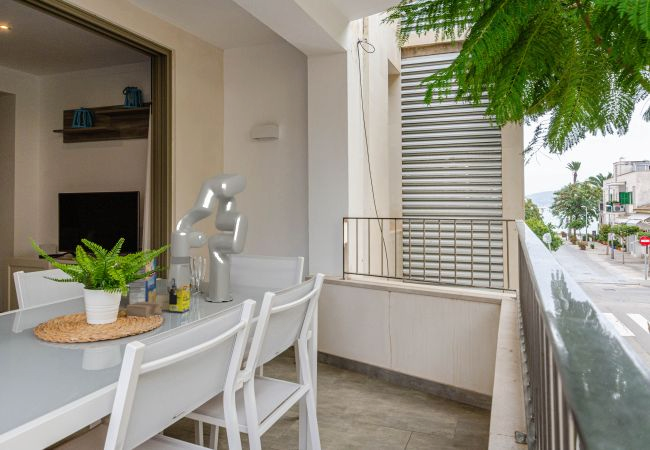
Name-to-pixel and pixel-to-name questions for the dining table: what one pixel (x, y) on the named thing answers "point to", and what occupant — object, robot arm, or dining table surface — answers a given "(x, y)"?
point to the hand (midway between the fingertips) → (179, 302)
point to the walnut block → (144, 309)
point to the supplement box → (181, 300)
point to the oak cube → (163, 300)
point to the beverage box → (144, 286)
